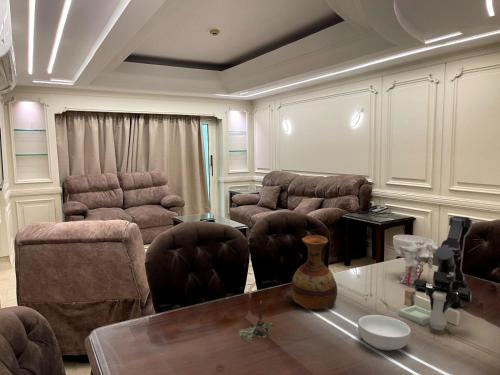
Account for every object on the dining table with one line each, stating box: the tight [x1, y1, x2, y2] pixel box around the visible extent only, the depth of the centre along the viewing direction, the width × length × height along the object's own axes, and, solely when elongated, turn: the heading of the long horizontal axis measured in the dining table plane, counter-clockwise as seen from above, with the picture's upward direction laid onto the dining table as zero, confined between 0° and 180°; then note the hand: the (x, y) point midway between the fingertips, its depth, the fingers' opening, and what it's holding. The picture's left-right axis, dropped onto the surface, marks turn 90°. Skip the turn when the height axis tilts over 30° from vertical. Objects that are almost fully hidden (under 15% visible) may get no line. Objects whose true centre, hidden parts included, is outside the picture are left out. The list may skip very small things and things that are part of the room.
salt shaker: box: [429, 291, 448, 331], centre depth 134 cm, size 6×6×13 cm
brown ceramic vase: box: [290, 234, 338, 310], centre depth 158 cm, size 20×20×30 cm
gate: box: [412, 294, 461, 326], centre depth 149 cm, size 2×20×5 cm, turn 27°
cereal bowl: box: [357, 314, 412, 351], centre depth 124 cm, size 17×17×7 cm
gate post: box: [403, 288, 417, 307], centre depth 160 cm, size 3×3×7 cm
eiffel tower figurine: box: [237, 300, 275, 343], centre depth 132 cm, size 15×10×13 cm
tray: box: [398, 305, 431, 326], centre depth 147 cm, size 10×10×2 cm
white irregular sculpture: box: [392, 234, 439, 287], centre depth 187 cm, size 25×19×23 cm
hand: (437, 311), depth 133 cm, fingers closed on salt shaker, 3 cm apart
